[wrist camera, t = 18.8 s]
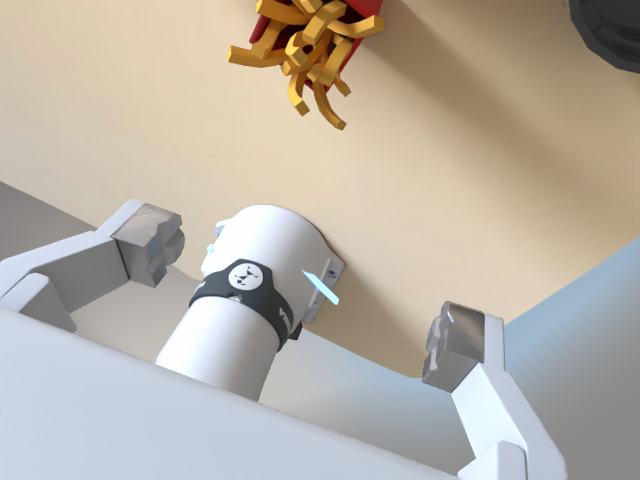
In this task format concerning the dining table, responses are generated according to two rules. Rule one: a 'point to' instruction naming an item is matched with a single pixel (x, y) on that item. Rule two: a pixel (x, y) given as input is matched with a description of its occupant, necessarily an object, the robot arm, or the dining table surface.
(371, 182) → the dining table surface
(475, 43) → the dining table surface
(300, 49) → the french fries
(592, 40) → the pan
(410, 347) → the dining table surface
